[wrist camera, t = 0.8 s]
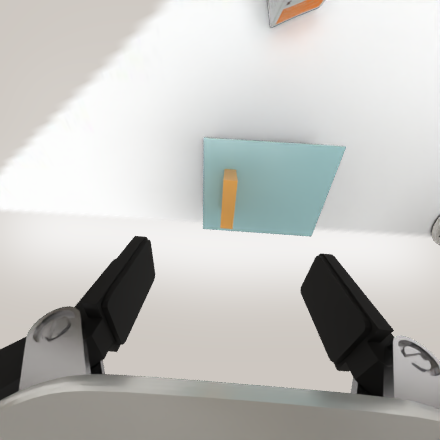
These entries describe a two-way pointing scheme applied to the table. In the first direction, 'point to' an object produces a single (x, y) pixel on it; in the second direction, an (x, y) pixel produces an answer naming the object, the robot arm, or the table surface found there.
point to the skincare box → (289, 9)
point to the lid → (266, 185)
